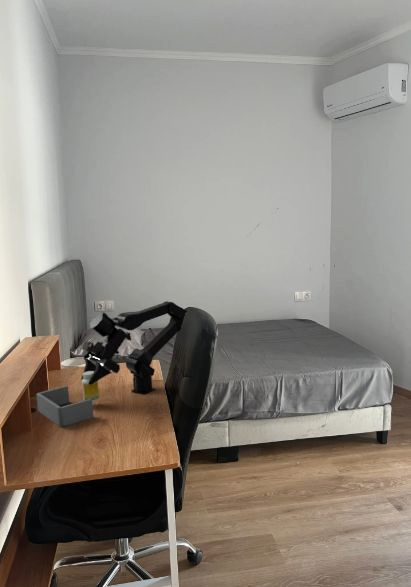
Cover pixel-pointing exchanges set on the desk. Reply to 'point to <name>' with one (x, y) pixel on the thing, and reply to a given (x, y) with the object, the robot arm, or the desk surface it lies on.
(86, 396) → the supplement bottle
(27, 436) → the desk surface
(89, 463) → the desk surface
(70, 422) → the open side box
